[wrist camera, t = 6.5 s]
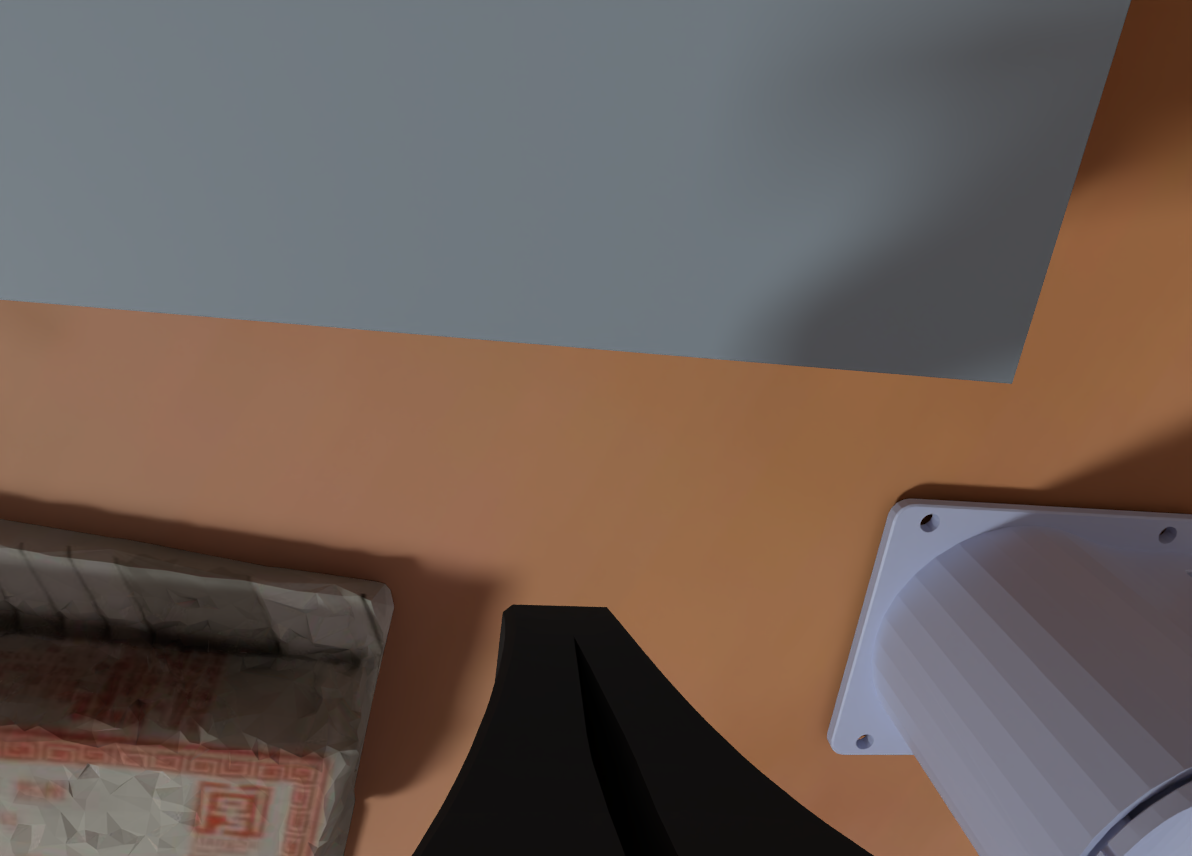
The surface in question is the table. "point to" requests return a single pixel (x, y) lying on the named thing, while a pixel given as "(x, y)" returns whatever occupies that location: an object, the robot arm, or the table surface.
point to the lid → (559, 168)
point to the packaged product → (178, 699)
